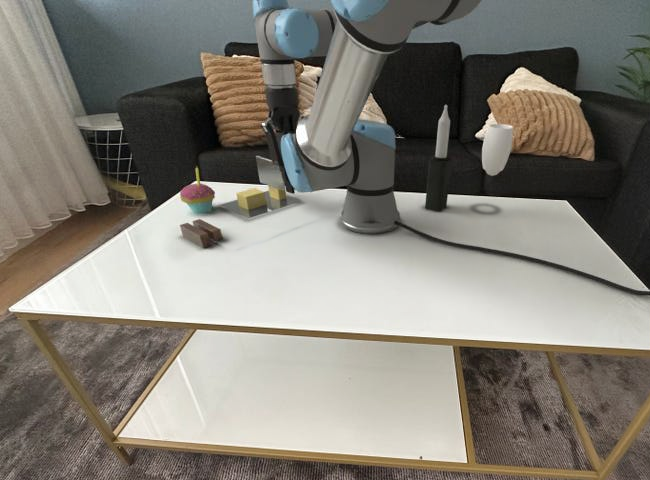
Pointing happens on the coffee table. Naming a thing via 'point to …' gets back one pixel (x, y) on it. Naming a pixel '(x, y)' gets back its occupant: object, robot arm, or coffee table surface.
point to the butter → (251, 198)
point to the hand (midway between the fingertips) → (294, 191)
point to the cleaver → (270, 173)
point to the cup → (496, 147)
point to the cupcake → (198, 196)
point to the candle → (439, 168)
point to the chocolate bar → (201, 233)
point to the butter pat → (277, 193)
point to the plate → (271, 205)
